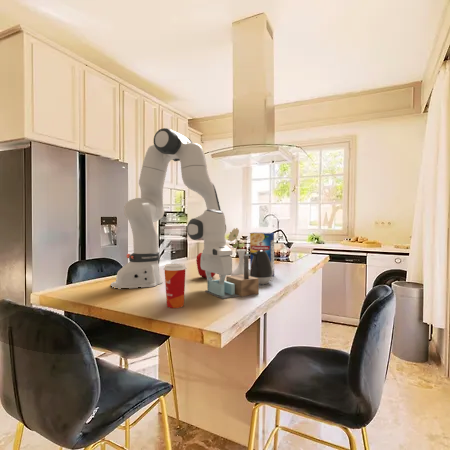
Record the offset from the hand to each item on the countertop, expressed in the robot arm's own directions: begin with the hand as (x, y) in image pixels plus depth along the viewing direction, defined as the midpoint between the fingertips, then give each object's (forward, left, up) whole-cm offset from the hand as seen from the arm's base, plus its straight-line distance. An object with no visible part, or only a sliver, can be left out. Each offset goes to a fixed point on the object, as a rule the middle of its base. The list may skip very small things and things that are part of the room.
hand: (215, 283), depth 127 cm
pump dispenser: (+26, +3, -4) cm, 26 cm away
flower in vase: (+26, +20, -4) cm, 33 cm away
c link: (0, -4, -3) cm, 5 cm away
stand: (+9, -7, -3) cm, 11 cm away
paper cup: (-21, -11, -4) cm, 24 cm away
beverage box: (+39, +19, -4) cm, 43 cm away
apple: (+12, +29, -4) cm, 32 cm away
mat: (0, -5, -3) cm, 6 cm away
